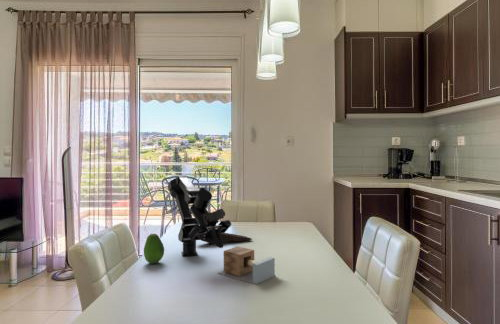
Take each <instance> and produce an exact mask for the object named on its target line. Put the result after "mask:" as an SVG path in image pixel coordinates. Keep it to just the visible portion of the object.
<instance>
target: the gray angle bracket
mask: <svg viewBox="0 0 500 324" xmlns="http://www.w3.org/2000/svg"><path fill="white" fill-rule="evenodd" d="M275 258H276V257H271V256H269V257H267V258H264V259H261V260H260V261H257V260H255V259H254V260H249V261H248V266H252V267H253V271H252V272H250V273H247V274H245V275H242V276H237V275H233V274H230V273H226V272H224V270H221V271H220V272H218V274H219V275H223V276H225V277H228V278H229V277H230V278H232V279H236V280H239V281H243V282H246V283H250V284H252V285H253V284H254V285H259V284H261V283H263V282H265V281H267V280H269V279H272V278H274V277H276V274H275V272H276V271H275V270H276V269H275V267H276V265H275V263H276V262H275V260H276V259H275Z"/></svg>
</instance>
